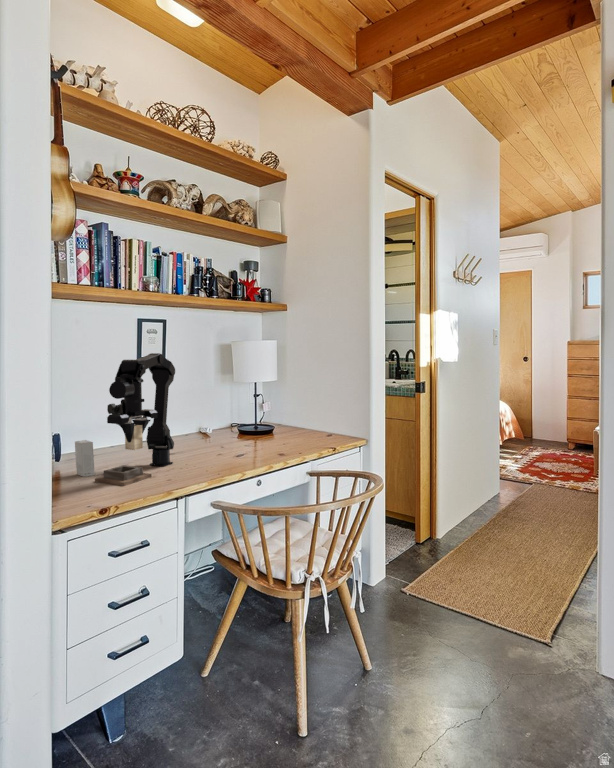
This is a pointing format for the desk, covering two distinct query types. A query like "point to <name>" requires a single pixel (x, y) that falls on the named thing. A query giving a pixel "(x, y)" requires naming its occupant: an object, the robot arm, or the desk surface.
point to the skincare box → (84, 458)
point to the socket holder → (123, 475)
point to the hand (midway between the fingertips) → (133, 441)
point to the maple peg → (135, 439)
